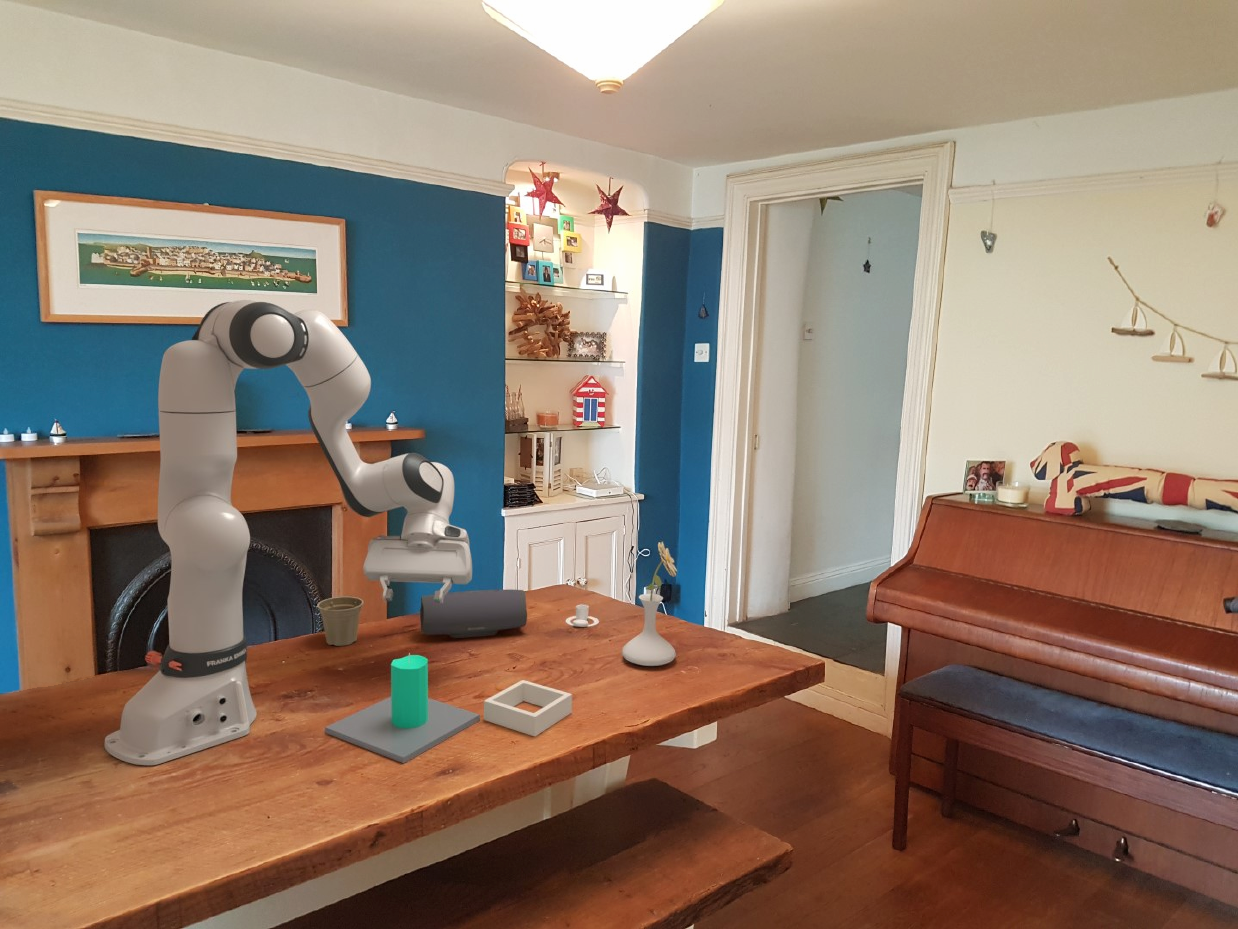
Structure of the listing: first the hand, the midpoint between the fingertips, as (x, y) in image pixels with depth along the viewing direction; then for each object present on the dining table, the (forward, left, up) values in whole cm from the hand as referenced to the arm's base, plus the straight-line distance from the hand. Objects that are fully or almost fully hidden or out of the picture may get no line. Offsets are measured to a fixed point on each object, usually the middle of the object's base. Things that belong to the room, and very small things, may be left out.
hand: (412, 600), depth 152 cm
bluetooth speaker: (+29, +10, -17) cm, 35 cm away
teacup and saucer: (+48, -3, -18) cm, 51 cm away
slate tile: (-12, -10, -17) cm, 23 cm away
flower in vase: (+39, -30, -17) cm, 52 cm away
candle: (-11, -10, -16) cm, 23 cm away
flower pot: (+9, +30, -17) cm, 36 cm away
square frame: (+3, -25, -17) cm, 30 cm away
